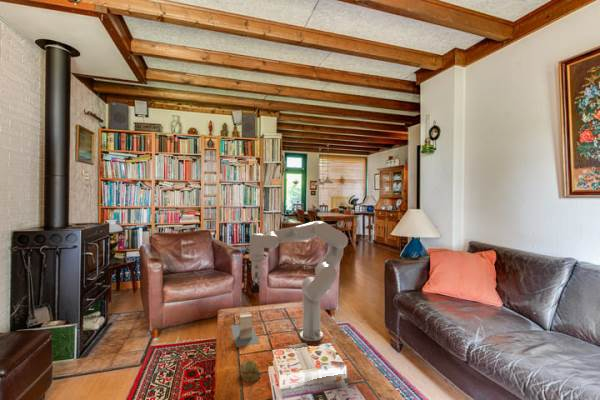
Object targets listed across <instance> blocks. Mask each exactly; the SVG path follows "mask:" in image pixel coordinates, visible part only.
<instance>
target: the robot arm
mask: <svg viewBox="0 0 600 400" xmlns="http://www.w3.org/2000/svg"><path fill="white" fill-rule="evenodd" d="M249 235H250V236H249V256H248V257H249V261H251V279H252V293H253V294H259V293H260V281H262V280H263V279H262V277H263V275H262V274H263V261H264V260H265V248H267V249H276V248H278V246H279V244H282V243H287V242H295V243H299V242H303V241H308V240H310V239H315V238H319V239H320V240H322V241H324V242H326V243H327V244H328V250H327V251H326V253H325V254H324V255H323V258H322V259H320V261H319V262H318V264H317V265H316V266H315V268H314V269H315V270H314V274H315V275H316V276H307V277H305V278H304V279H303V281H302V283H301V295H302V331H300V332H299V337H300V339H302V340H303V341H307V342H316V341H320V340H322V339H323V337H324V333H323V331H322V330H321V299H323V298H324V296H325V295H326V294H327V292H328V291H329V290H330V288H331V287H332V286H333V284H334V283H335V281H336V279H337V277H338V272H337V269H336V268H337V266H338V265H339V263H340V262H341V260H342V259H343V256H344V248H346V247H347V246H348V243H349V239H348V238H349V237H348V236H347V235H346V234H345V233H344V232H342V231H340V230H338V229H336V227H334V226H332V225H330V224H328V223H327V222H325V221H321V220H316V221H310V222H306V223H303V224H299V225H296V226H290V227H285V228H281V229H277V230H273V231H268V232H267V233H266V234H264V233H259V232H256V233H251V234H249Z"/></svg>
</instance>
